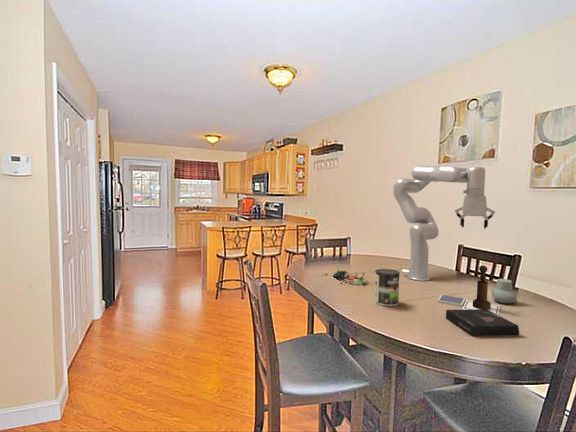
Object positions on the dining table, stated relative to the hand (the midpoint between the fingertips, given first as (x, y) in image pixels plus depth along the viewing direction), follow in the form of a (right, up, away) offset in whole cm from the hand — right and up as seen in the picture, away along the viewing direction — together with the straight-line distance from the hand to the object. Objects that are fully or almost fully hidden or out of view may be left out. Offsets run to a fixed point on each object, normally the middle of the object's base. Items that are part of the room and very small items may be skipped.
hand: (473, 227), depth 166 cm
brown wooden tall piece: (-8, -34, -21) cm, 41 cm away
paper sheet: (-8, -34, -21) cm, 41 cm away
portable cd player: (-21, -36, -42) cm, 59 cm away
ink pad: (-17, -33, -13) cm, 39 cm away
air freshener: (+7, -34, -12) cm, 36 cm away
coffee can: (-47, -33, -16) cm, 60 cm away
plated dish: (-56, -31, +24) cm, 69 cm away
